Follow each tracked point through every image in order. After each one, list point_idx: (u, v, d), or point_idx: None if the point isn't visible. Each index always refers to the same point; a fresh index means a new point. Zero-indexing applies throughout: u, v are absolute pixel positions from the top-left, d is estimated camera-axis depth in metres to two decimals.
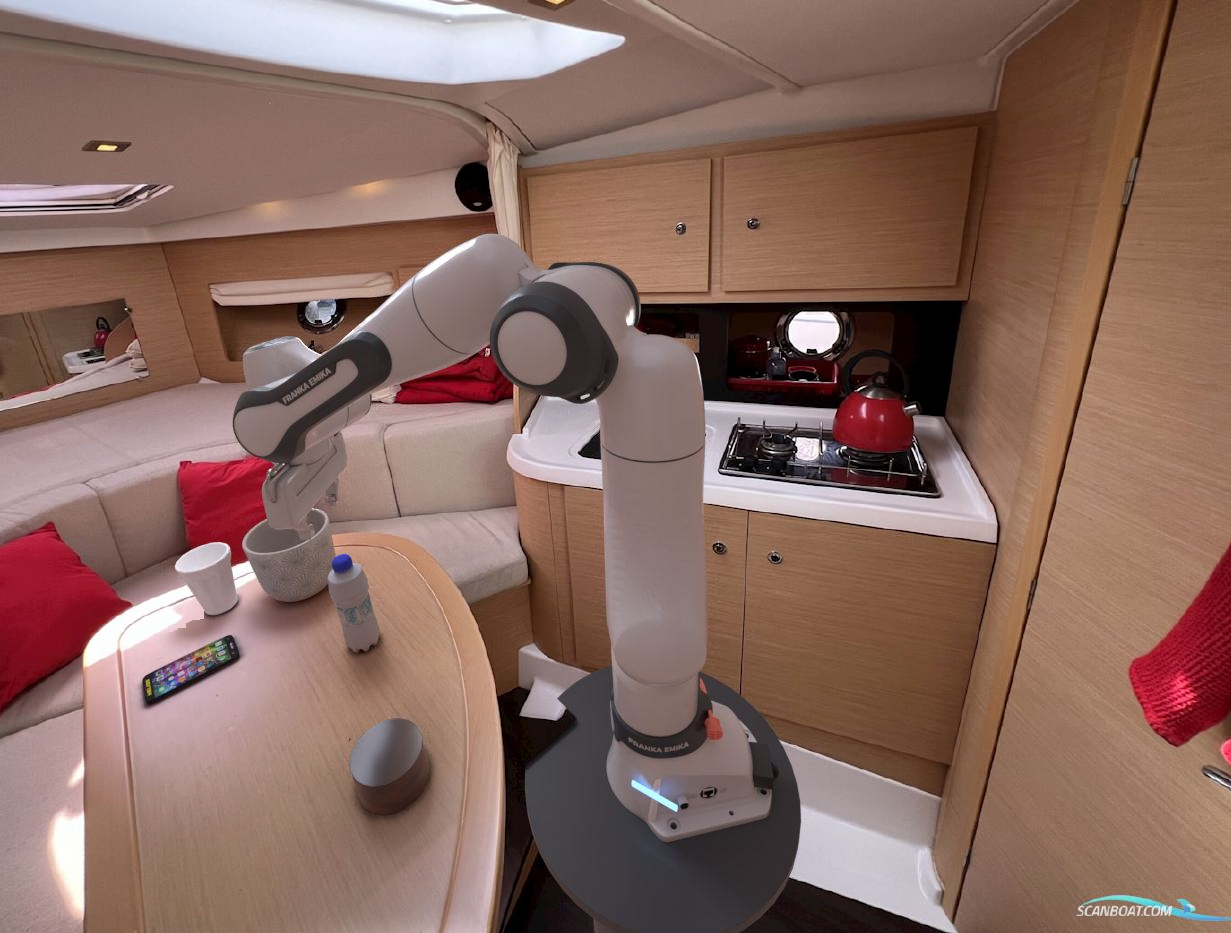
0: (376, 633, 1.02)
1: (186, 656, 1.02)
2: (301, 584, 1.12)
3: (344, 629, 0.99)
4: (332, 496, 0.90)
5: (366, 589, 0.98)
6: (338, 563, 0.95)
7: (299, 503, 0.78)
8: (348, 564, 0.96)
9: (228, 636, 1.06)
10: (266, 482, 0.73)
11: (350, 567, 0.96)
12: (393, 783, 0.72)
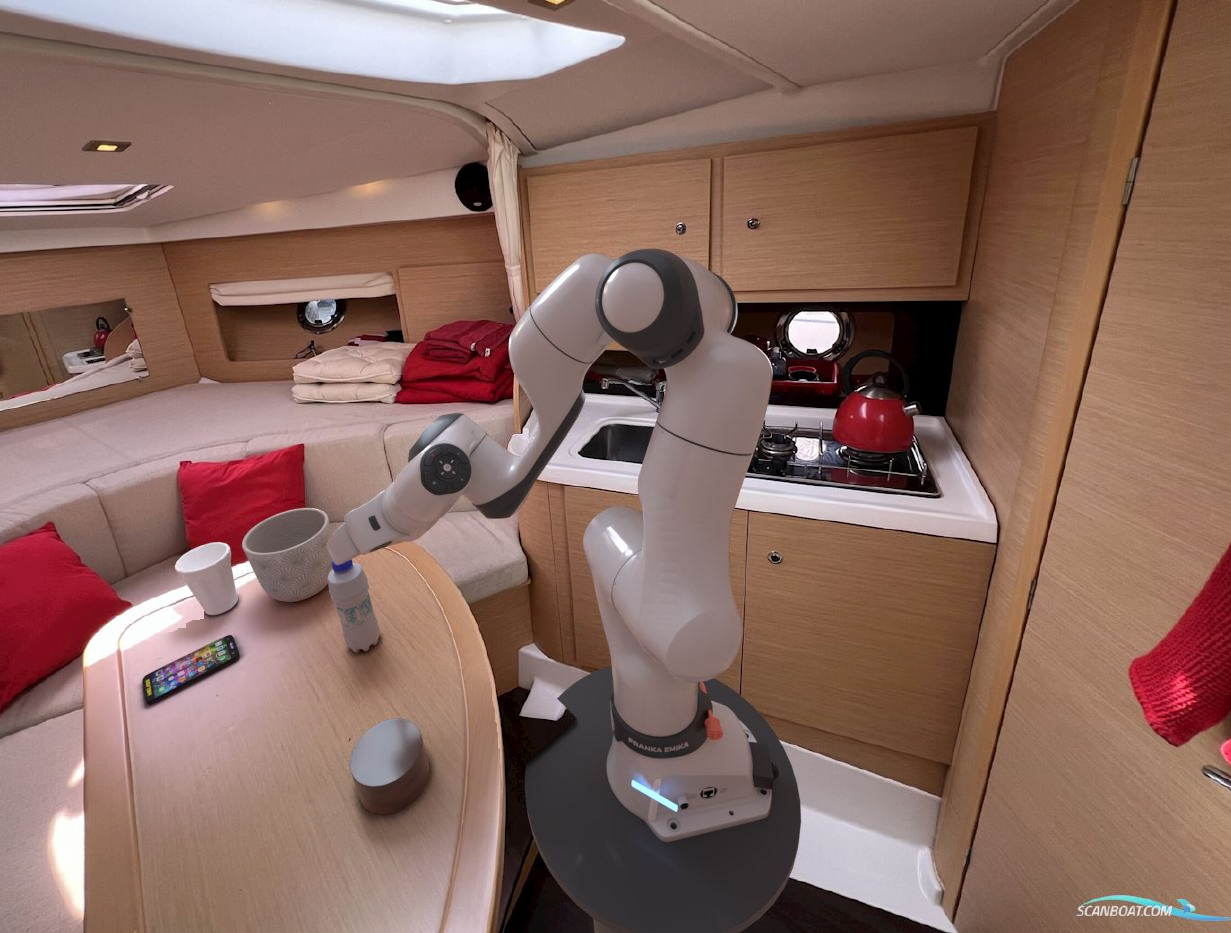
0: (376, 633, 1.02)
1: (186, 656, 1.02)
2: (301, 584, 1.12)
3: (344, 629, 0.99)
4: None
5: (366, 589, 0.98)
6: None
7: None
8: (348, 564, 0.96)
9: (228, 636, 1.06)
10: None
11: (350, 567, 0.96)
12: (393, 783, 0.72)
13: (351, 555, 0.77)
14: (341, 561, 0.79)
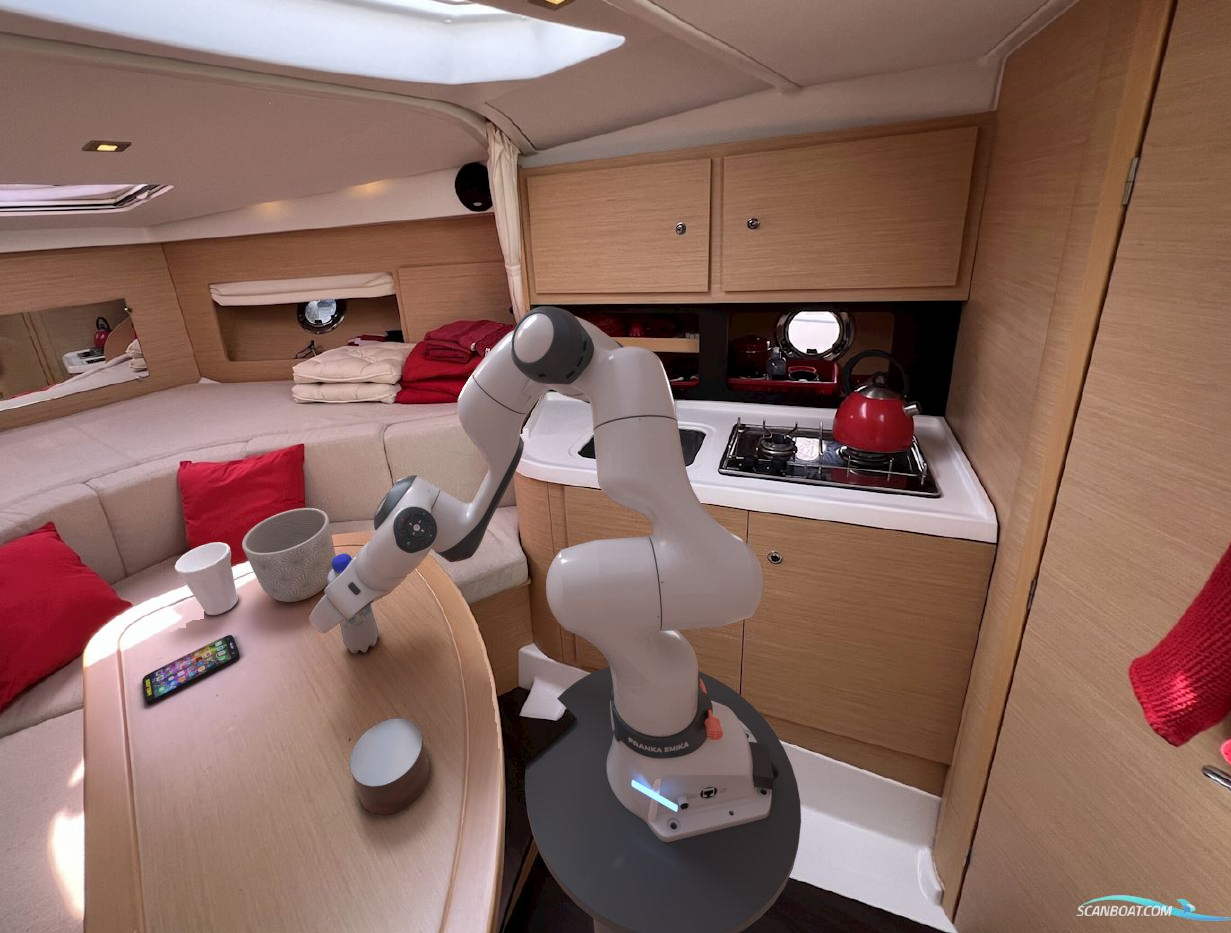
0: (375, 634, 1.01)
1: (186, 656, 1.02)
2: (301, 584, 1.12)
3: (343, 629, 0.99)
4: None
5: None
6: (338, 563, 0.95)
7: None
8: None
9: (228, 636, 1.06)
10: None
11: None
12: (393, 783, 0.72)
13: (338, 622, 0.86)
14: (328, 629, 0.87)
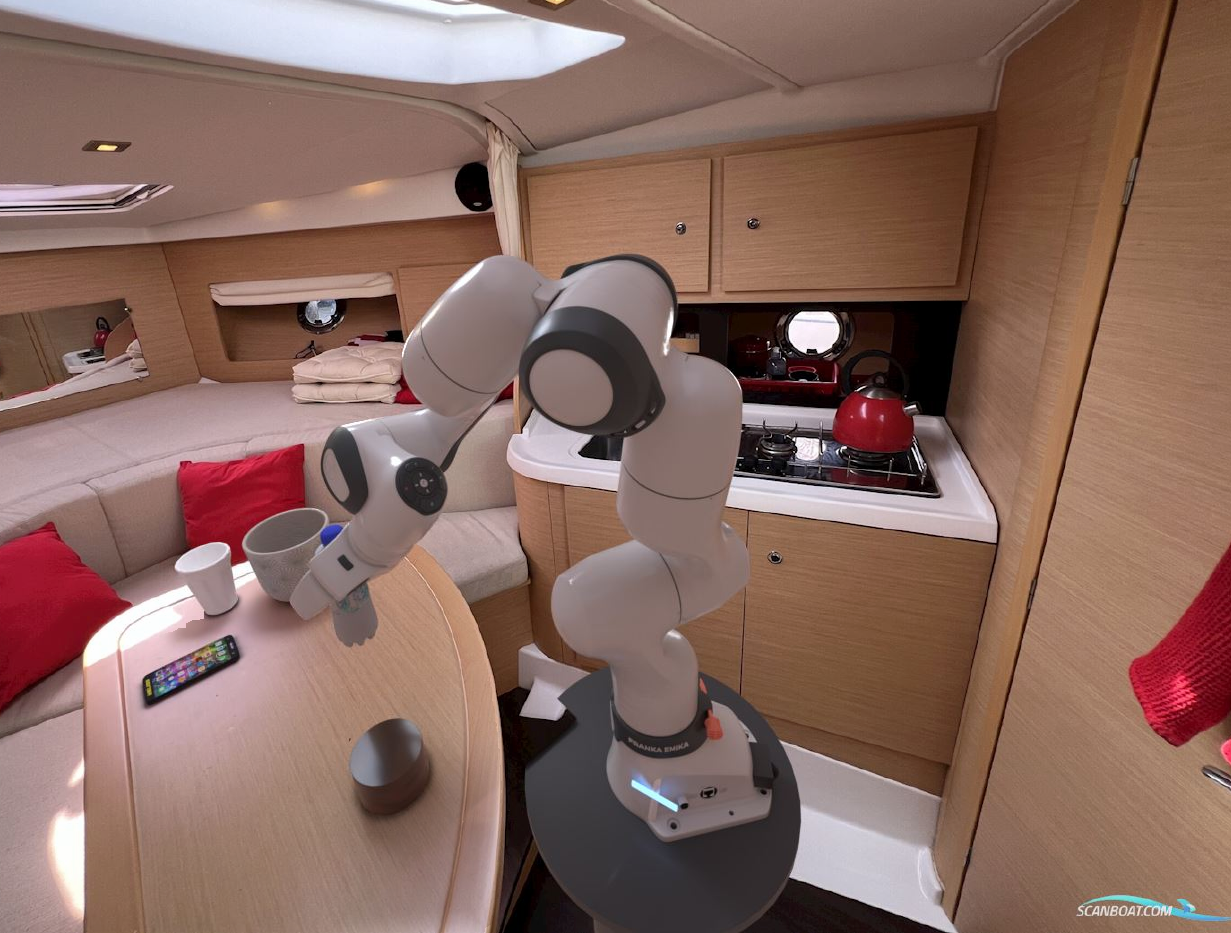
0: (373, 624, 0.83)
1: (186, 656, 1.02)
2: None
3: (334, 618, 0.81)
4: None
5: None
6: (328, 535, 0.77)
7: None
8: None
9: (228, 636, 1.06)
10: None
11: None
12: (393, 783, 0.72)
13: (325, 604, 0.68)
14: (313, 614, 0.69)
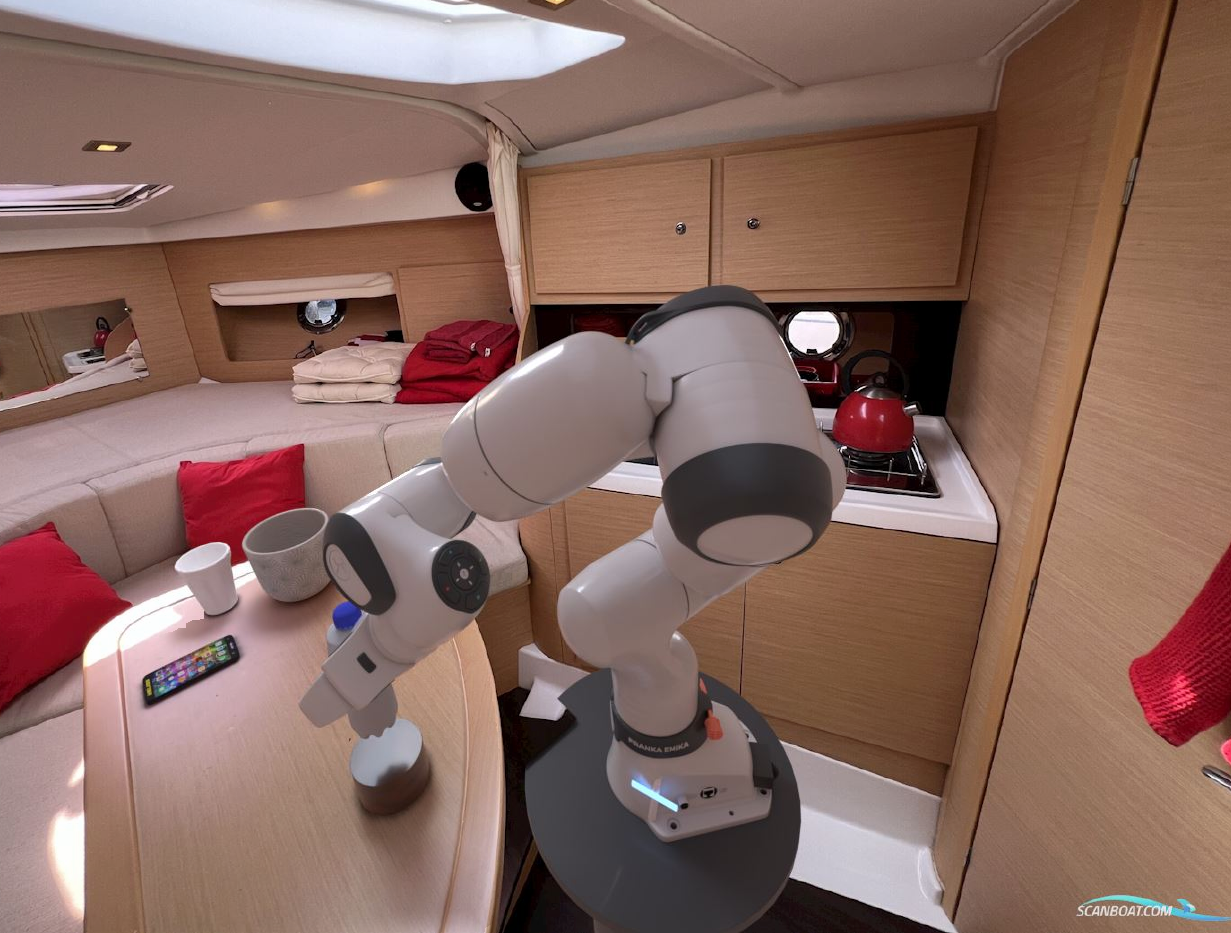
0: (393, 711, 0.72)
1: (186, 656, 1.02)
2: (301, 584, 1.12)
3: None
4: None
5: None
6: (342, 617, 0.65)
7: None
8: (356, 617, 0.66)
9: (228, 636, 1.06)
10: None
11: None
12: (393, 783, 0.72)
13: (343, 714, 0.57)
14: (327, 723, 0.58)
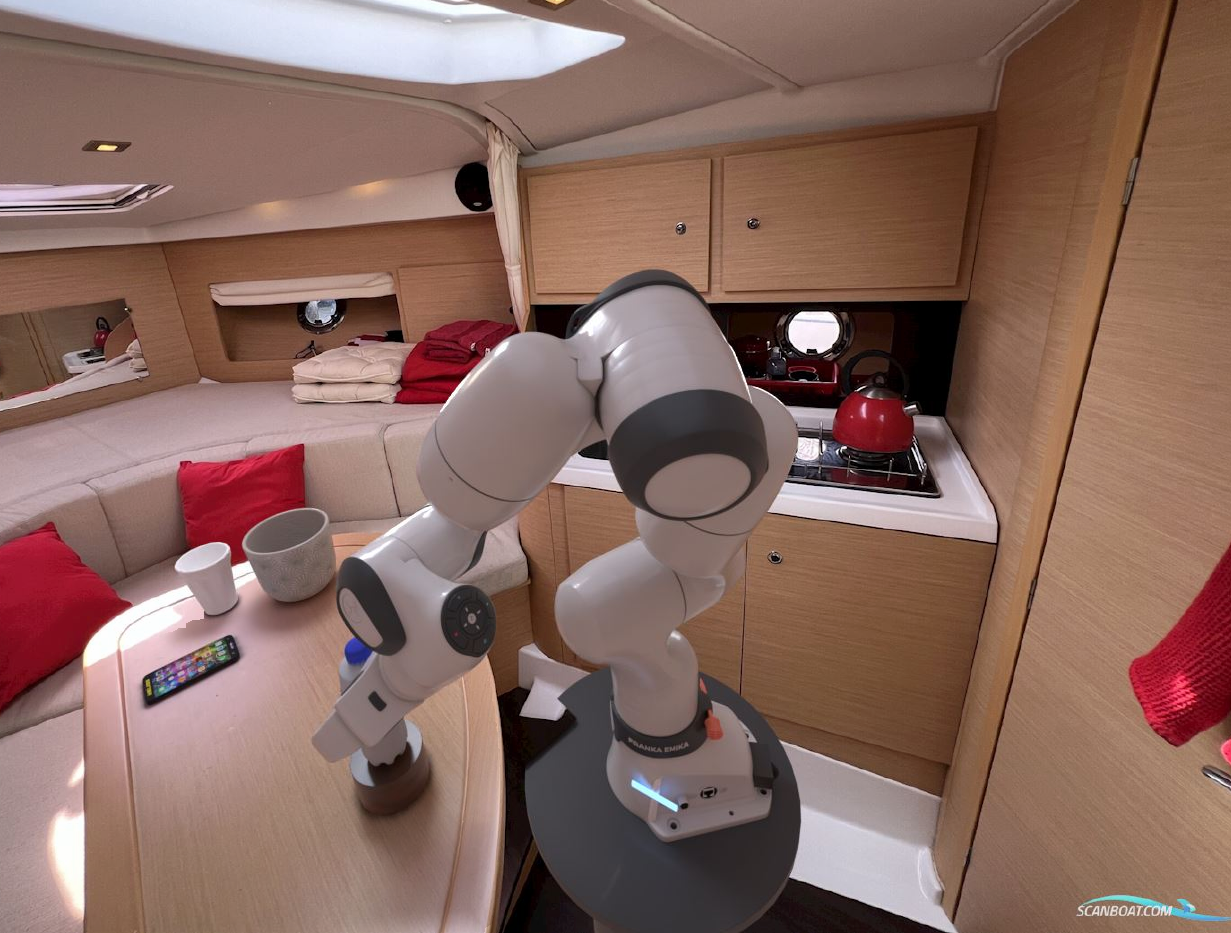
0: (404, 739, 0.75)
1: (186, 656, 1.02)
2: (301, 584, 1.12)
3: None
4: None
5: None
6: (354, 652, 0.68)
7: None
8: (367, 652, 0.68)
9: (228, 636, 1.06)
10: None
11: None
12: (393, 783, 0.72)
13: (354, 751, 0.59)
14: (339, 759, 0.60)
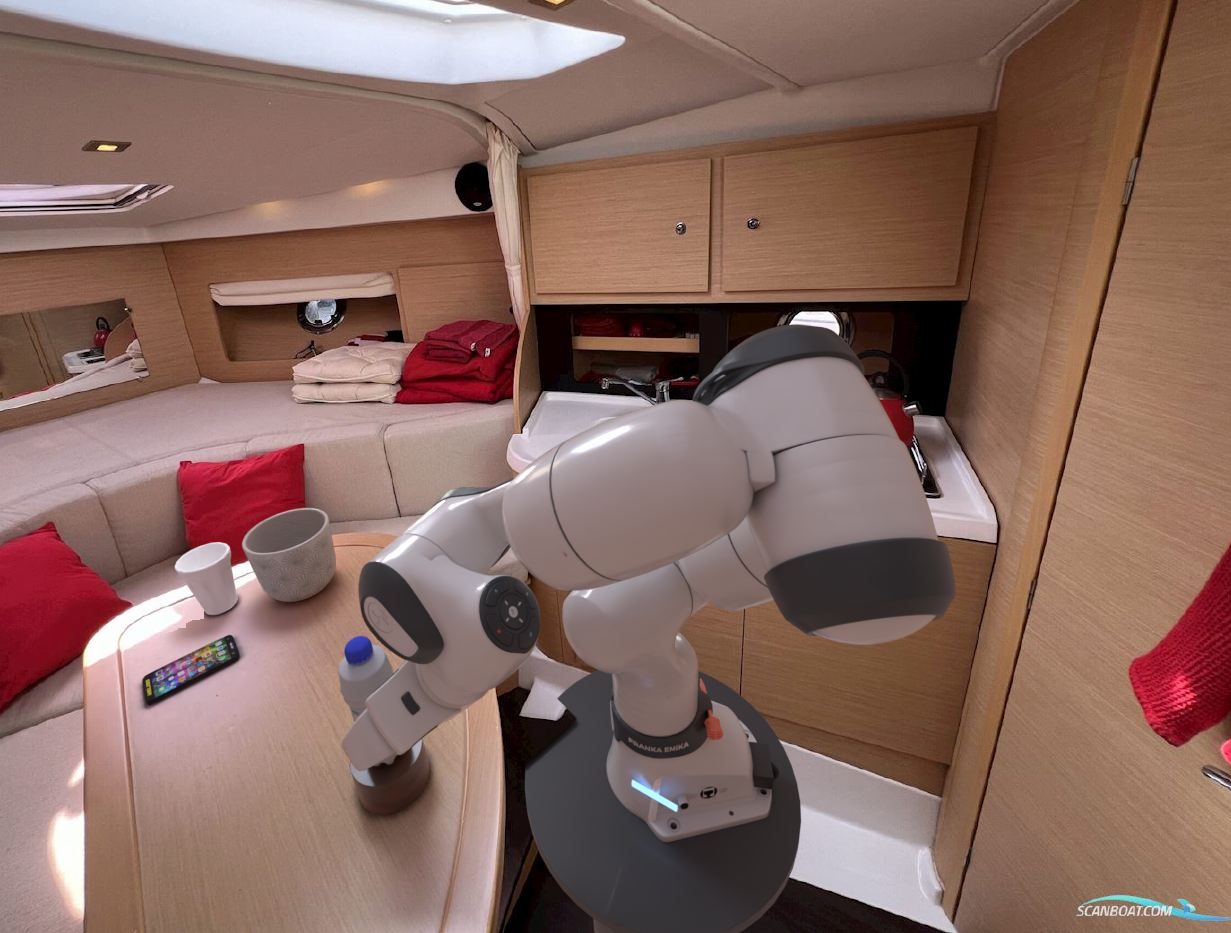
0: None
1: (186, 656, 1.02)
2: (301, 584, 1.12)
3: None
4: None
5: None
6: (354, 652, 0.68)
7: None
8: (367, 652, 0.68)
9: (228, 636, 1.06)
10: None
11: (370, 656, 0.69)
12: (393, 783, 0.72)
13: (383, 757, 0.54)
14: (367, 767, 0.55)
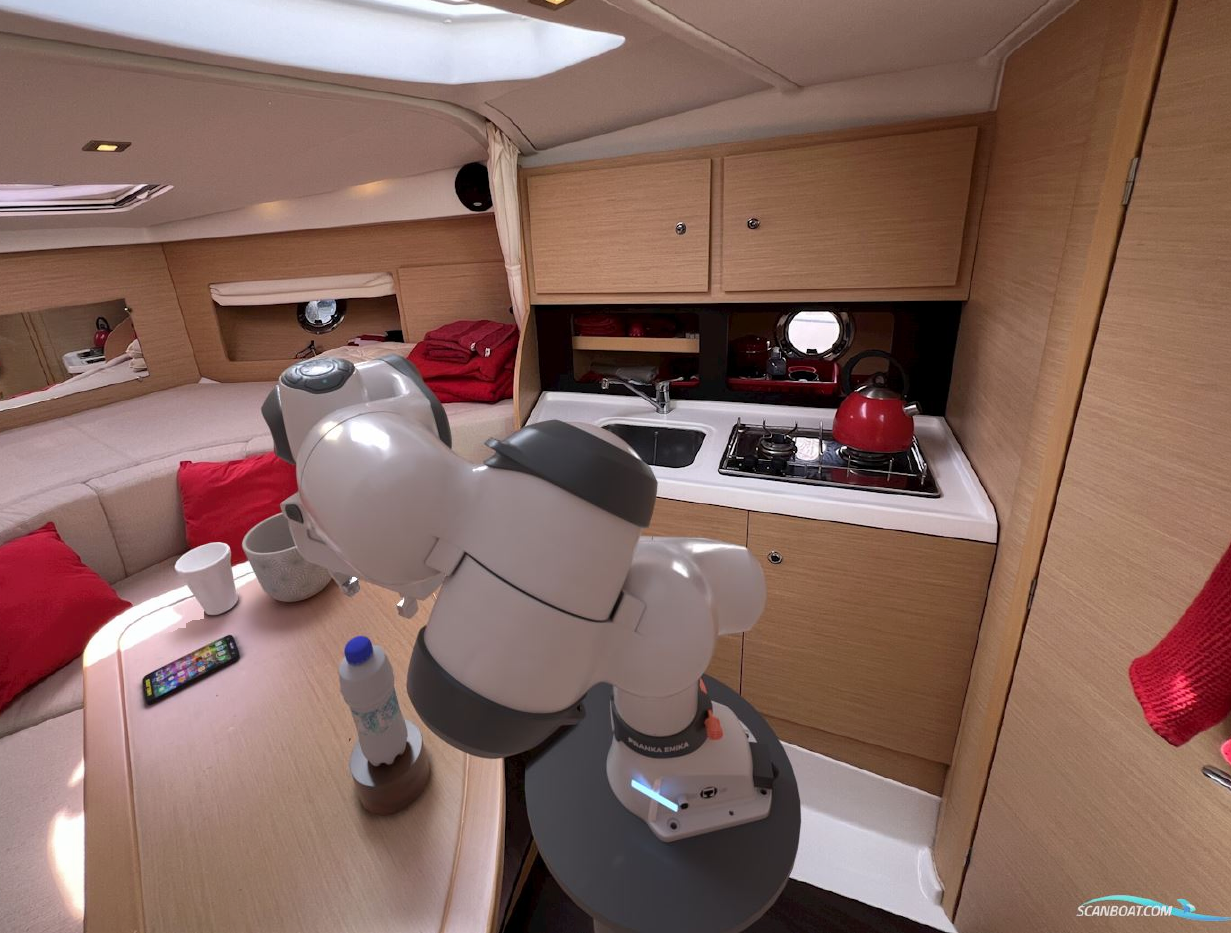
0: (404, 739, 0.75)
1: (186, 656, 1.02)
2: (301, 584, 1.12)
3: (361, 737, 0.72)
4: (353, 579, 0.66)
5: (391, 683, 0.71)
6: (354, 652, 0.68)
7: None
8: (367, 652, 0.68)
9: (228, 636, 1.06)
10: None
11: (370, 656, 0.69)
12: (393, 783, 0.72)
13: (288, 521, 0.63)
14: None
